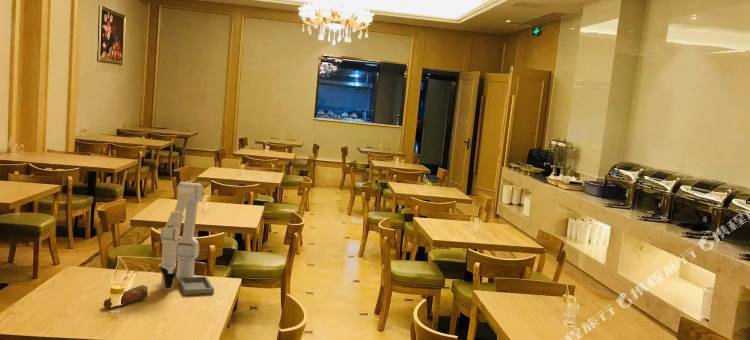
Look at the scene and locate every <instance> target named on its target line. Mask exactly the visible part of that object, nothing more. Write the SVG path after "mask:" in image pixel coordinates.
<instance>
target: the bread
mask: <svg viewBox="0 0 750 340" xmlns="http://www.w3.org/2000/svg"><path fill="white" fill-rule="evenodd" d="M123 292H124V294H123V296H122V298H121V304H122V306H124V305H123V304H125V305H127V304H131V303H133V302H138V301H141V300H143V299H145V298H147V297H148V286H146V285H144V284H143V285H137V286H135V287H133V288H130V289H128V291H127V290H125V291H123ZM111 305H112V303H111V297H109V298H108V299H105V300H104V301H103V307H104V309H106V310H110V309H109V308H110V307H111Z"/></svg>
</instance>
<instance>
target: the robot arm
mask: <svg viewBox="0 0 750 340" xmlns="http://www.w3.org/2000/svg"><path fill="white" fill-rule="evenodd" d="M176 189H177V196H178V198H177V201H176V205H175V209H174V211H172V212H170V215H169V217H168V219H167V222H166V224H165V226H163V227H162V228H161V231H160V239H161V240H160V241H161V244H162V251H161V263H159V264H158V267H159V268H160V270H161V274H162V273H163V275H164V279H165V286H166V288H171V286H172V283H173V279H174V280H175V277H176V279H177V280H178V281H179V277H196V276H195V262H196V261H195V260H196V259H197V258H198V257H199V255H200V243H199V240H197V239H196V237H194V236H195V231H196V230H195V228H196V221H197V213H198V206H199V205H198V204H199V202H201V201H202V199H203V191H204V189H203V185H202V184H201V183H200V182H199V183H197V182H196V183H194V182H189V181H188V182H187V181H179V183H178V185H177V186H176ZM184 211H185V214H183V213H184ZM182 223H183V232H182V236H181V237H180V235H181V226H182ZM176 261H177V262H176ZM176 267H177V271H174V269H175V268H176Z"/></svg>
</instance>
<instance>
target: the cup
mask: <svg viewBox="0 0 750 340" xmlns="http://www.w3.org/2000/svg"><path fill="white" fill-rule="evenodd" d="M174 283H175V278H174V279H173V283H172V286H171V288H166V286H165V279H164V275H163V273H162V272H161V283H160V291H162V292H173V291H174V287H175V286H174V285H175V284H174Z"/></svg>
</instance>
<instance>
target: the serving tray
mask: <svg viewBox="0 0 750 340" xmlns="http://www.w3.org/2000/svg"><path fill="white" fill-rule="evenodd" d="M178 285H179V286H180V289H181V290H182V293H183V295H184V296H204V294H206V295H214V294H215V288H214V286H213V285H212V283H211V281H210V280H209V277H208V276H207V275H205V276H195V277H179V280H178Z"/></svg>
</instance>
